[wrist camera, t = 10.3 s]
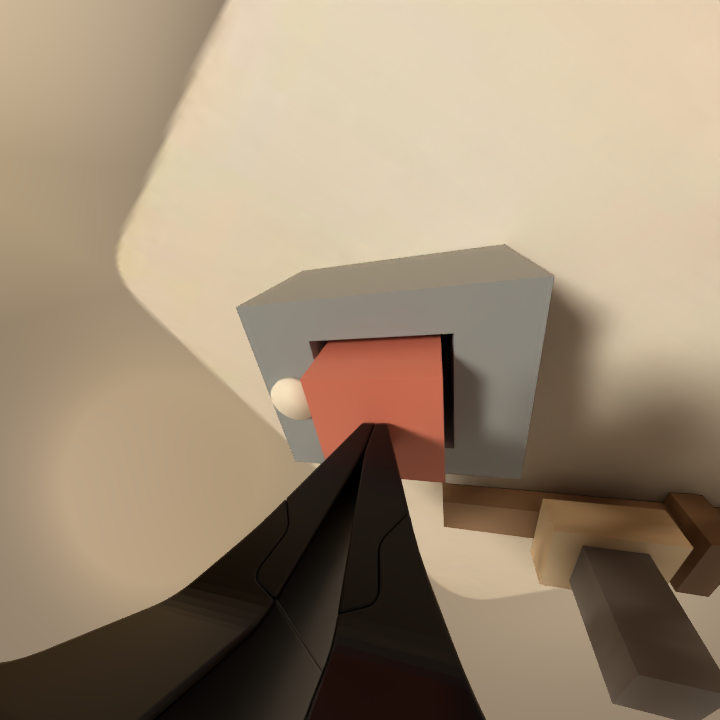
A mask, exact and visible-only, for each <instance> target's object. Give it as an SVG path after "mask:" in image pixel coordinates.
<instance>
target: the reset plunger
mask: <svg viewBox="0 0 720 720" xmlns="http://www.w3.org/2000/svg"><path fill="white" fill-rule="evenodd" d="M300 381H301V384H302V388H303V391H304V394H305V397H306V400H307V404H308V407H309V410H310V413H311V416H312V420H313V423H314V426H315V429H316V432H317V436H318V439H319V442H320V445H321V448H322V451H323V455H324V458H325V459H327V458H328V457H329V456H330V455H331V454H332V453H333V452H334V451H335V450H336V449H337V448H338V447H339V446H340V445H341V444H342V443H343V442H344V441H345V440H346V439H347V438H348V437H349V436H350V435H351V434H352V433H353V432H354V431H355V430H356V429H357V428H358V427H359V426H360V425H361V424H362V423H374V424H376V423H385V424H388V427H389V431H390V435H391V439H392V443H393V448H394V452H395V456H396V460H397V464H398V468H399V473H400V477H401V479H408V480H419V481H430V482H442V483H445V450H444V411H443V375H442V354H441V334H433V335H415V336H396V337H378V338H359V339H341V340H329V341H328V342H327V344H326V345H325V346H324V348H323V349H322V350H321V352H320V353H319V355H318V356H317V357H316V359H315V360H314V361H313V363H312V364H311V365H310V367H309V368H308V369H307V371H306V372H305V373H304V375H303V376H302V377H301V379H300Z"/></svg>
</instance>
